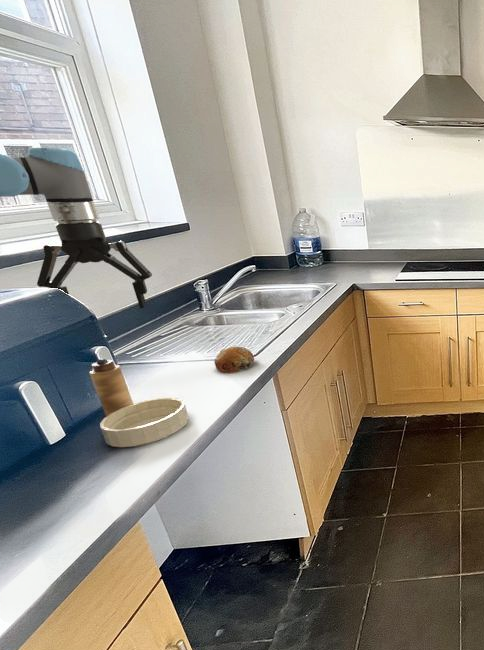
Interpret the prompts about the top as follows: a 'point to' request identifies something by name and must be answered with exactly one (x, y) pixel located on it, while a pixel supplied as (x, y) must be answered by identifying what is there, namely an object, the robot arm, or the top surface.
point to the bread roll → (234, 359)
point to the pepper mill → (110, 386)
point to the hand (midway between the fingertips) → (108, 310)
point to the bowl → (144, 422)
